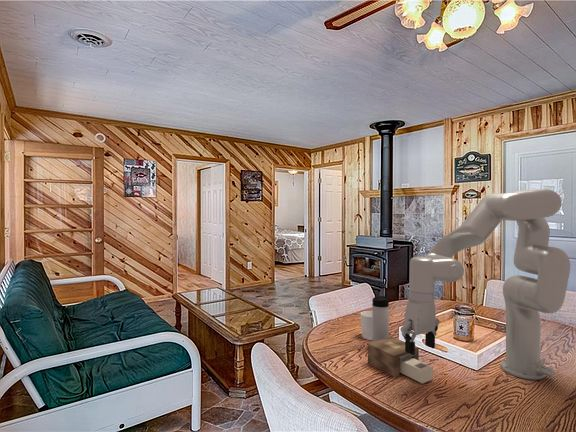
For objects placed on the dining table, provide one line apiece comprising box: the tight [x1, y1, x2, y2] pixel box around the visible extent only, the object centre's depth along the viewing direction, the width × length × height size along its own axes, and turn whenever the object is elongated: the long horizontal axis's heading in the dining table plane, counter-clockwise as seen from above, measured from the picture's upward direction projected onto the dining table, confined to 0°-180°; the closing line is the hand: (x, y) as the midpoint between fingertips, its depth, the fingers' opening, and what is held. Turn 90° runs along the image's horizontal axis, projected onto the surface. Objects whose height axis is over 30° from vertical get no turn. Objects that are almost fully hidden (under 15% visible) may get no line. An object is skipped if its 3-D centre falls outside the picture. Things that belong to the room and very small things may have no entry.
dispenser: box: [367, 335, 420, 378], centre depth 120 cm, size 13×12×7 cm
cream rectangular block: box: [399, 357, 434, 385], centre depth 114 cm, size 14×5×4 cm, turn 31°
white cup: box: [360, 310, 372, 341], centre depth 146 cm, size 8×8×10 cm
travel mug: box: [371, 295, 391, 342], centre depth 135 cm, size 6×7×20 cm
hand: (420, 350), depth 110 cm, fingers open, 9 cm apart
